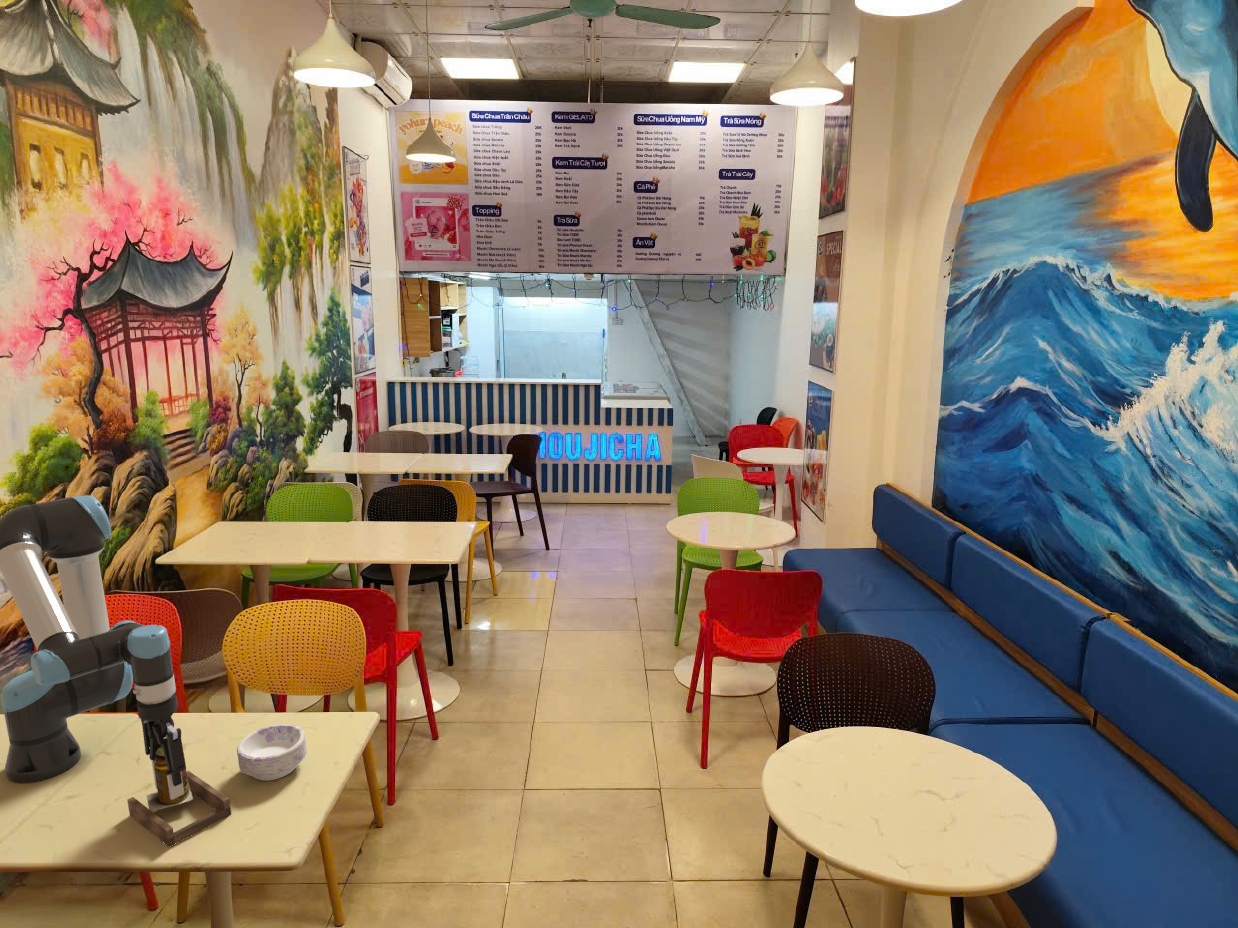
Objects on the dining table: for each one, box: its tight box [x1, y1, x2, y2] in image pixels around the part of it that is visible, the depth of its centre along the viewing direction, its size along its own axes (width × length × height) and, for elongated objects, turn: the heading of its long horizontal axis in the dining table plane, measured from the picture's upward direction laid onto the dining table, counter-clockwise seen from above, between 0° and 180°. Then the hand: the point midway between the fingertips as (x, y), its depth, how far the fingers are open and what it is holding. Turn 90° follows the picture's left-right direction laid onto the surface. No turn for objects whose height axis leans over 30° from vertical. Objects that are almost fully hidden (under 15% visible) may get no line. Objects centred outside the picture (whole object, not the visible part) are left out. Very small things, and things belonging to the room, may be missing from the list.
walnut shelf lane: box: [127, 770, 232, 848], centre depth 181 cm, size 18×13×4 cm
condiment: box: [146, 747, 194, 813], centre depth 182 cm, size 7×8×12 cm
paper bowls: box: [236, 723, 308, 782], centre depth 197 cm, size 15×15×8 cm
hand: (169, 790), depth 182 cm, fingers closed on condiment, 6 cm apart
